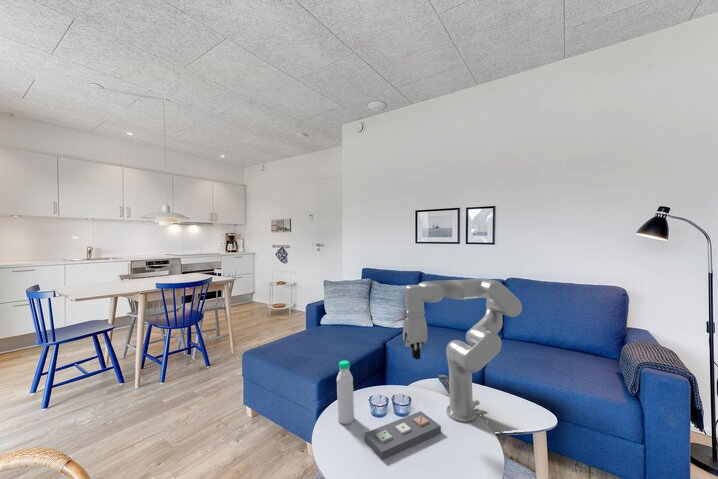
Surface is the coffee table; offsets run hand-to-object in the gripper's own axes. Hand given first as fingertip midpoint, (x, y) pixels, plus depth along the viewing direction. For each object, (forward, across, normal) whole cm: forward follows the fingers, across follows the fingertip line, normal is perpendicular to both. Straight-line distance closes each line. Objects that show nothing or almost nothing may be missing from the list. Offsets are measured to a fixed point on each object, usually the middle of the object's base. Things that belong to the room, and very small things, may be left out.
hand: (416, 358), depth 126 cm
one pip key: (+27, +11, +4) cm, 29 cm away
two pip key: (+27, +20, +4) cm, 34 cm away
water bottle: (+27, +25, -18) cm, 41 cm away
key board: (+27, +11, +4) cm, 30 cm away
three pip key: (+27, +2, +4) cm, 27 cm away
